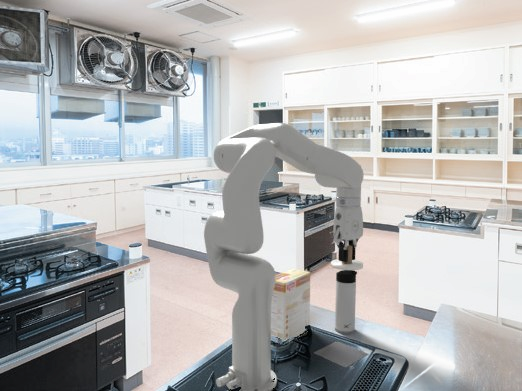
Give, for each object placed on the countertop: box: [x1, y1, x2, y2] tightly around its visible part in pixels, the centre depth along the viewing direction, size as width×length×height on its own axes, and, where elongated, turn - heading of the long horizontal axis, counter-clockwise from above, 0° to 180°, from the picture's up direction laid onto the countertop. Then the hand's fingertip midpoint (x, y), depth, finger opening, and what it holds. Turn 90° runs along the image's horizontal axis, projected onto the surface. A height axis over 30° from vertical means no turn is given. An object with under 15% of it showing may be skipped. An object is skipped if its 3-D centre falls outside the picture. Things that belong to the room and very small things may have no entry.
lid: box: [330, 245, 364, 271], centre depth 127 cm, size 10×10×6 cm
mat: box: [313, 340, 369, 368], centre depth 114 cm, size 11×11×1 cm
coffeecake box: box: [271, 268, 311, 340], centre depth 125 cm, size 15×7×20 cm, turn 142°
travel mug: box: [334, 270, 358, 335], centre depth 128 cm, size 6×7×20 cm
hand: (346, 259), depth 127 cm, fingers closed on lid, 3 cm apart
